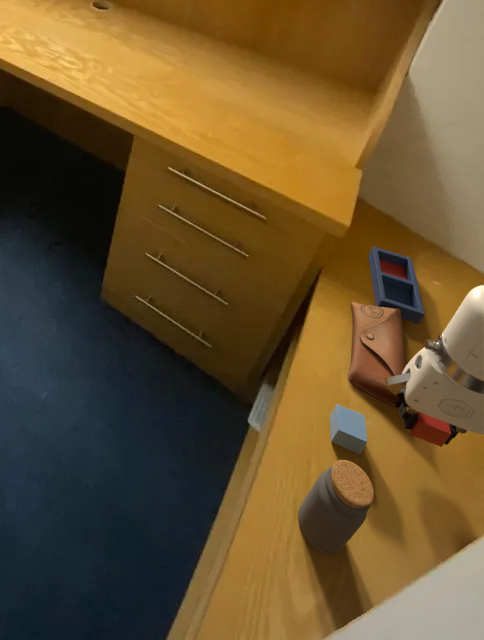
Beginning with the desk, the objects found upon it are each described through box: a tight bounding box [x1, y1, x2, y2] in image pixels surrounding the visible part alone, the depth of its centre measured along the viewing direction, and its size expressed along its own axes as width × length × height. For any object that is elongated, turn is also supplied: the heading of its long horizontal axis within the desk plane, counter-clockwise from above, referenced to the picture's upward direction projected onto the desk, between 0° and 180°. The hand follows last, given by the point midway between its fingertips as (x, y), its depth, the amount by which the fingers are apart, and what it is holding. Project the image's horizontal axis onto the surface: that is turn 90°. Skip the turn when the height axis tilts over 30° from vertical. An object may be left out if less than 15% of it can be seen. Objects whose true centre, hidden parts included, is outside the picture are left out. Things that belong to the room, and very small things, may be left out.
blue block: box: [329, 403, 368, 455], centre depth 80 cm, size 4×4×4 cm
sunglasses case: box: [347, 300, 406, 409], centre depth 92 cm, size 18×7×7 cm, turn 151°
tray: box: [368, 246, 426, 324], centre depth 103 cm, size 7×13×3 cm, turn 156°
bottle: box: [297, 459, 375, 555], centre depth 68 cm, size 6×6×15 cm
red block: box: [408, 412, 451, 448], centre depth 77 cm, size 4×4×4 cm
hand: (423, 425), depth 78 cm, fingers closed on red block, 4 cm apart
